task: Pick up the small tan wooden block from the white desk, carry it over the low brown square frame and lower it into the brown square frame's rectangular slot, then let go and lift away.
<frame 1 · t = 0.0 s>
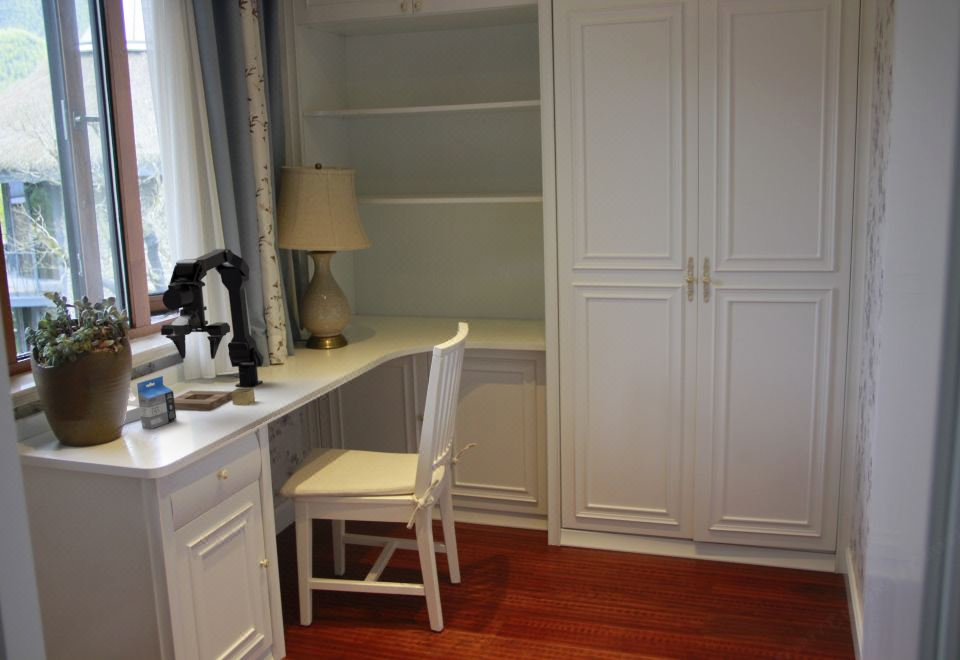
hand: (198, 358, 245), 15 cm above the table, tool pointing down, fingers open, 9 cm apart
bracket: (121, 422, 238), on the table
label tape box: (159, 424, 234), on the table
tan wooden block: (243, 403, 253), on the table
brown square frame: (200, 403, 254), on the table
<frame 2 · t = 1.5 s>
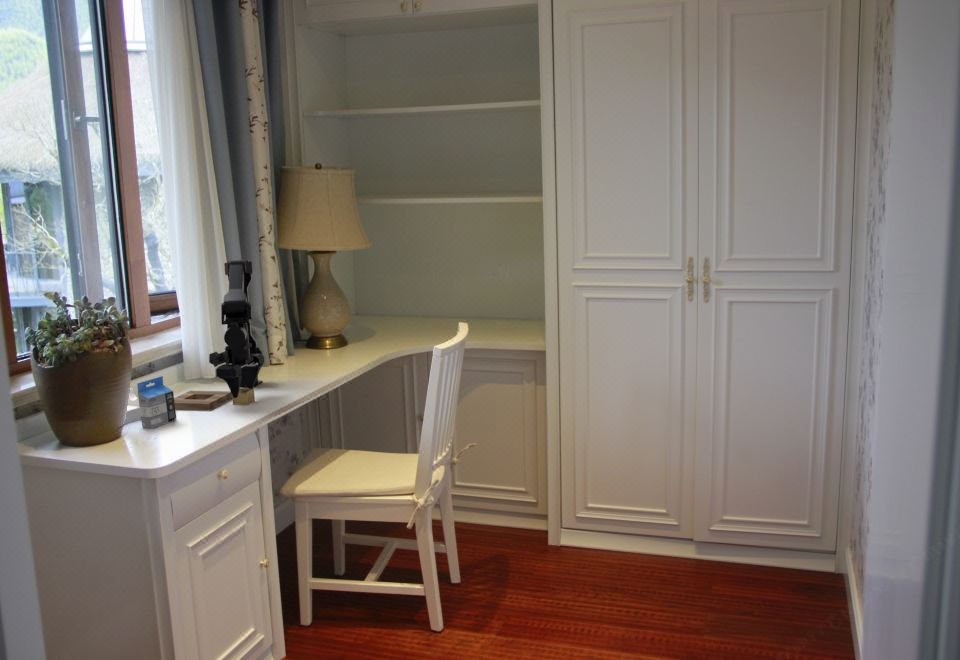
hand: (243, 393, 252), 3 cm above the table, tool pointing down, fingers open, 9 cm apart
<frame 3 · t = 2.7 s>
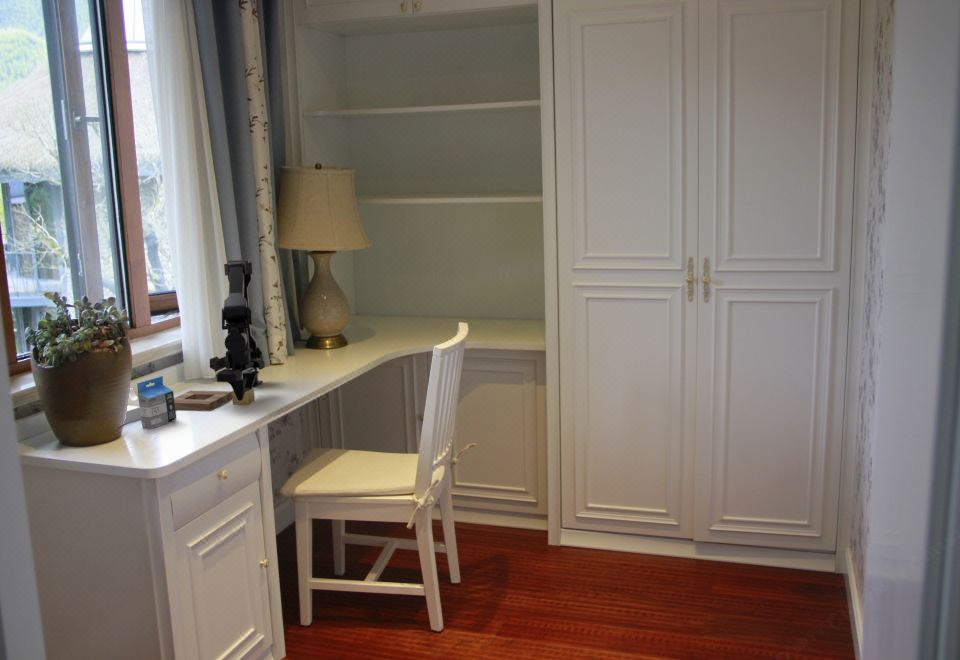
hand: (243, 398, 253), 1 cm above the table, tool pointing down, fingers closed on tan wooden block, 4 cm apart
tan wooden block: (243, 402, 253), on the table, touching gripper
everything else where it was.
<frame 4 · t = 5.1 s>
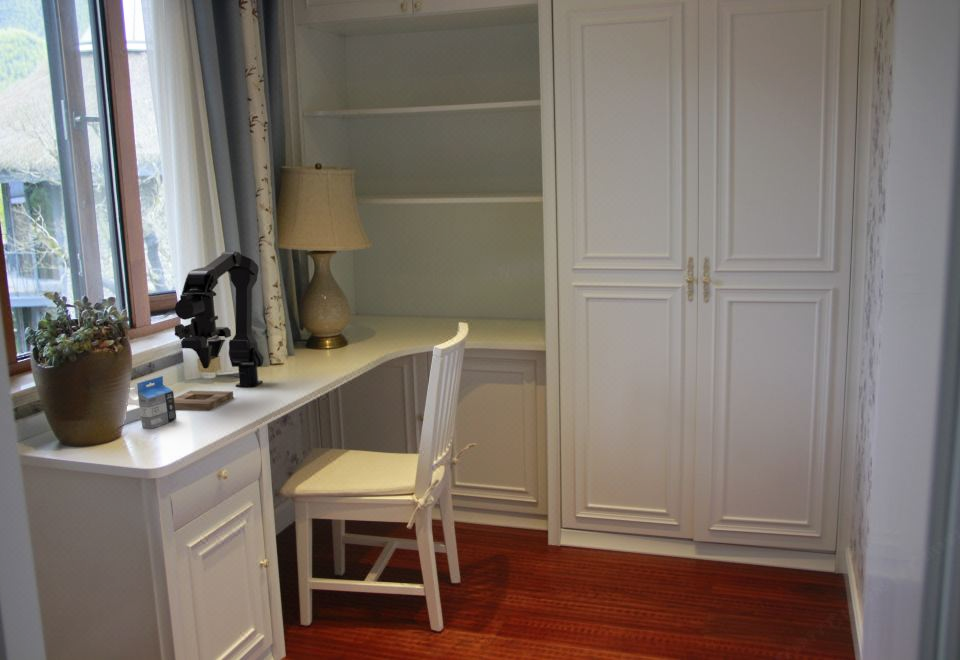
hand: (209, 366, 251), 11 cm above the table, tool pointing down, fingers closed on tan wooden block, 4 cm apart
tan wooden block: (209, 370, 252), point 10 cm above the table, touching gripper
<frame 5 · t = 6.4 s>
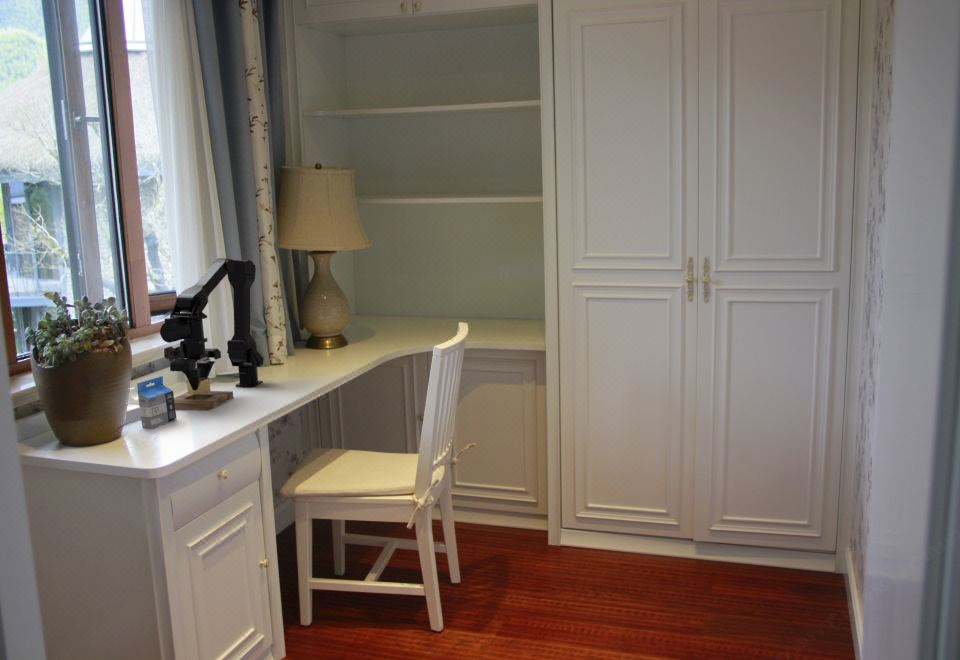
hand: (198, 388, 253), 5 cm above the table, tool pointing down, fingers closed on tan wooden block, 4 cm apart
tan wooden block: (199, 392, 253), point 3 cm above the table, touching gripper
when the fingers open (3 cm above the table, at t = 7.4 s): tan wooden block drops 2 cm, resting in brown square frame.
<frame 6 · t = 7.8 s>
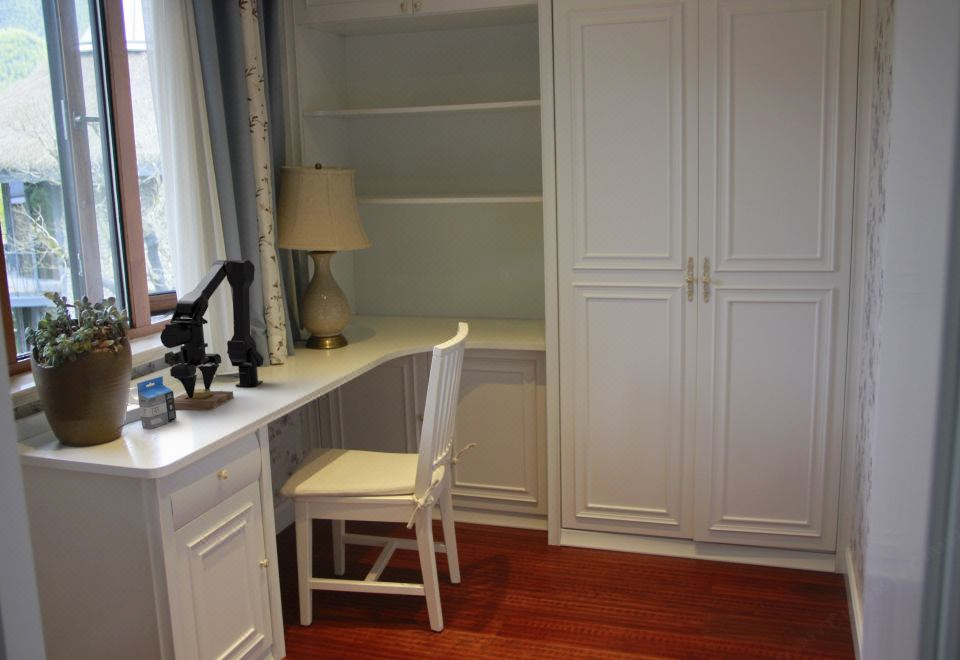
hand: (199, 393, 253), 3 cm above the table, tool pointing down, fingers open, 9 cm apart
tan wooden block: (200, 403, 254), resting in brown square frame
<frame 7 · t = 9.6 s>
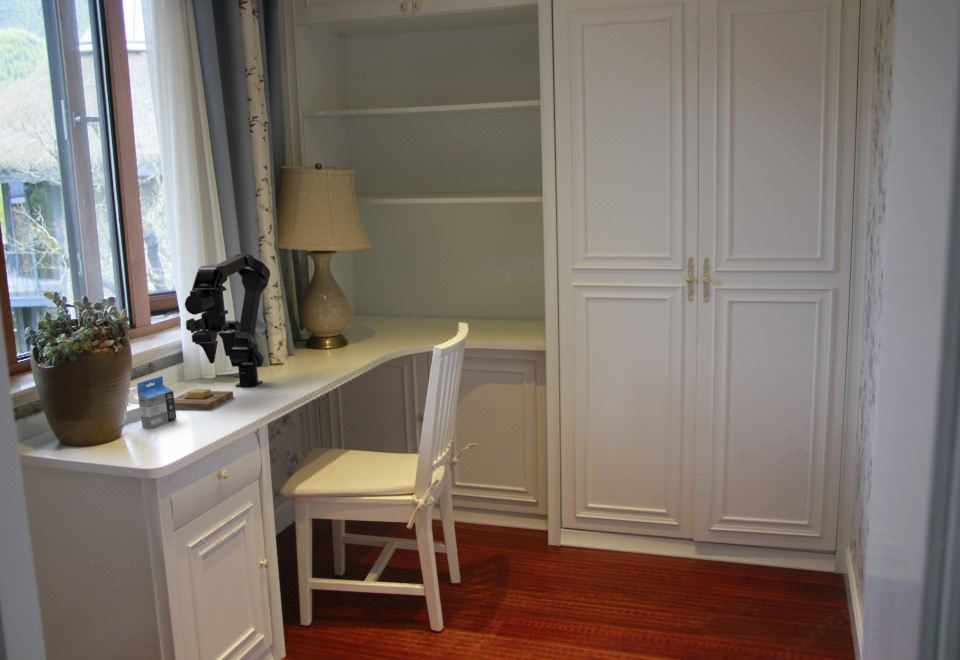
hand: (220, 359, 259), 11 cm above the table, tool pointing down, fingers open, 9 cm apart
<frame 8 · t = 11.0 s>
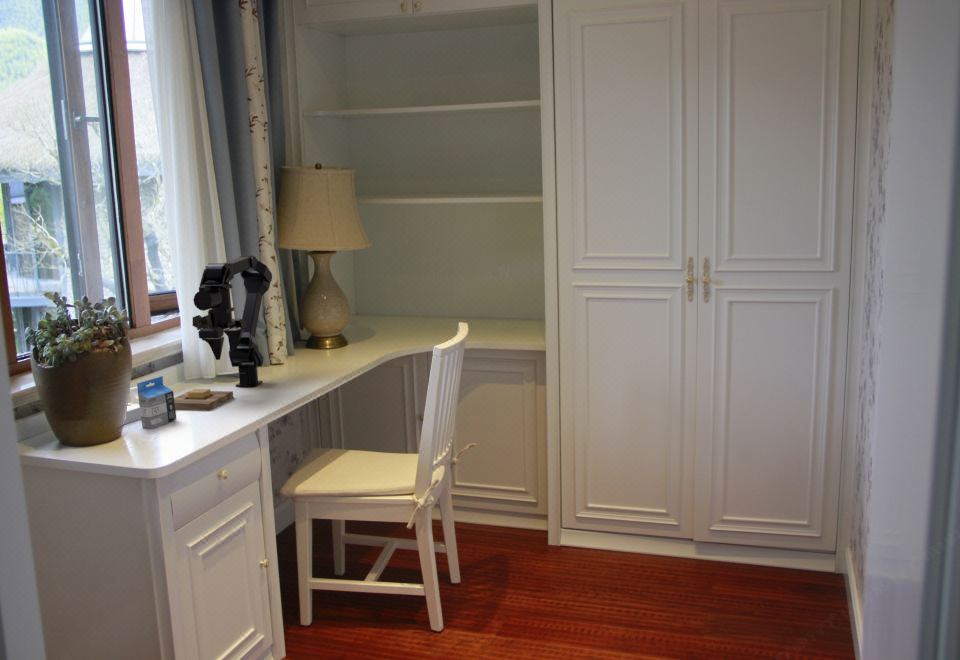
hand: (225, 356, 260), 12 cm above the table, tool pointing down, fingers open, 9 cm apart
at the end: tan wooden block 0.0 cm off-centre on the brown square frame, point 0.0 cm above the brown square frame's base; tan wooden block tilted 0°; the gripper is holding nothing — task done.
